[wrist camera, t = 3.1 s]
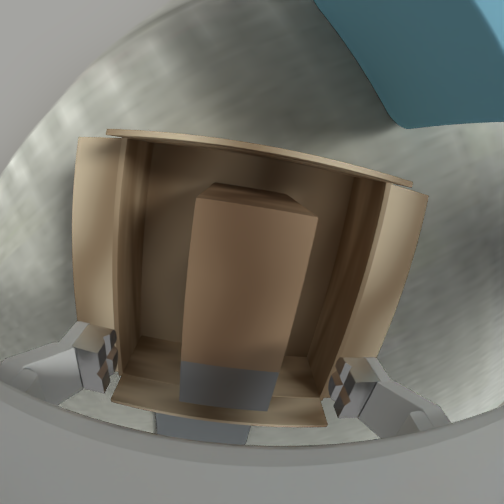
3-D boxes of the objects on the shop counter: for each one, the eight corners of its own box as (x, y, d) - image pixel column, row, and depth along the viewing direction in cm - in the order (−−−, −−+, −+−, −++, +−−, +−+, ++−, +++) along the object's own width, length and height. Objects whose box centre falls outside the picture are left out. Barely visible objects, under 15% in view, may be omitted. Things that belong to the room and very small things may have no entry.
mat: (266, 361, 23) (267, 364, 22) (242, 449, 26) (242, 452, 26) (154, 345, 22) (153, 348, 21) (158, 438, 25) (157, 441, 25)
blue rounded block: (435, 110, 17) (561, 97, 6) (395, 131, 18) (531, 123, 6) (352, -19, 14) (423, -106, 2) (305, -6, 14) (358, -115, 3)
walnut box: (285, 193, 18) (318, 217, 11) (258, 331, 21) (267, 411, 14) (214, 182, 18) (196, 197, 10) (197, 323, 21) (179, 401, 13)
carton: (389, 182, 19) (457, 197, 11) (337, 359, 23) (366, 424, 16) (116, 136, 17) (53, 128, 10) (109, 328, 21) (70, 389, 14)
